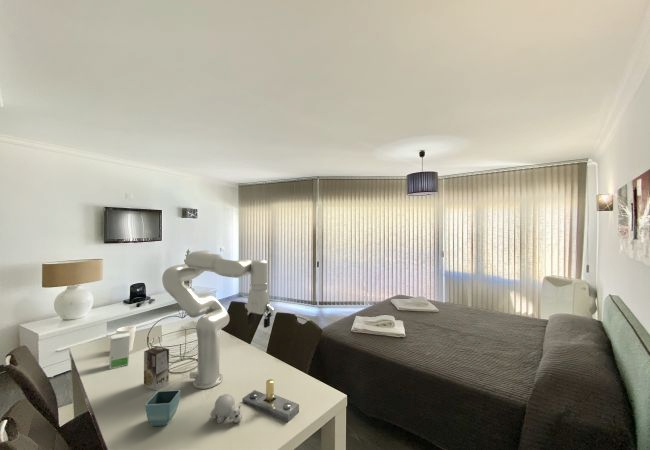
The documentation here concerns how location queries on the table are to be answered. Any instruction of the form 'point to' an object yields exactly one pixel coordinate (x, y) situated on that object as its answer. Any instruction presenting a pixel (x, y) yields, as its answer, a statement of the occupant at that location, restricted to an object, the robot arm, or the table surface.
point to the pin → (270, 391)
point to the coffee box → (156, 367)
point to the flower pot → (162, 407)
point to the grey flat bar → (272, 405)
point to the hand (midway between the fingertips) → (258, 325)
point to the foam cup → (131, 331)
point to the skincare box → (119, 350)
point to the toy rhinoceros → (226, 409)
